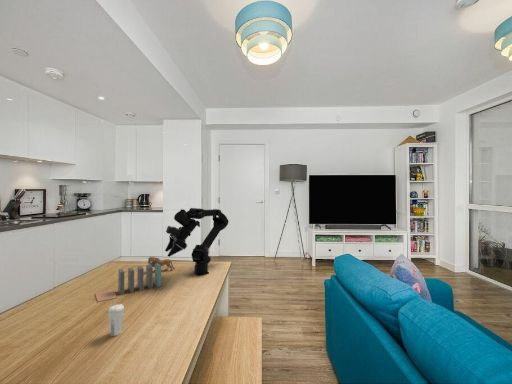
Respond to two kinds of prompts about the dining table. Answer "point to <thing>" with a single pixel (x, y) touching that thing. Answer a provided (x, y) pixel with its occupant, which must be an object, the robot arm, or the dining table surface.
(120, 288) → the domino
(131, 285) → the domino
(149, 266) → the domino
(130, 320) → the dining table surface
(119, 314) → the milkshake
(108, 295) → the strip
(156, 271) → the domino
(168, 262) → the lion figurine
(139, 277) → the domino
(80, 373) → the dining table surface
